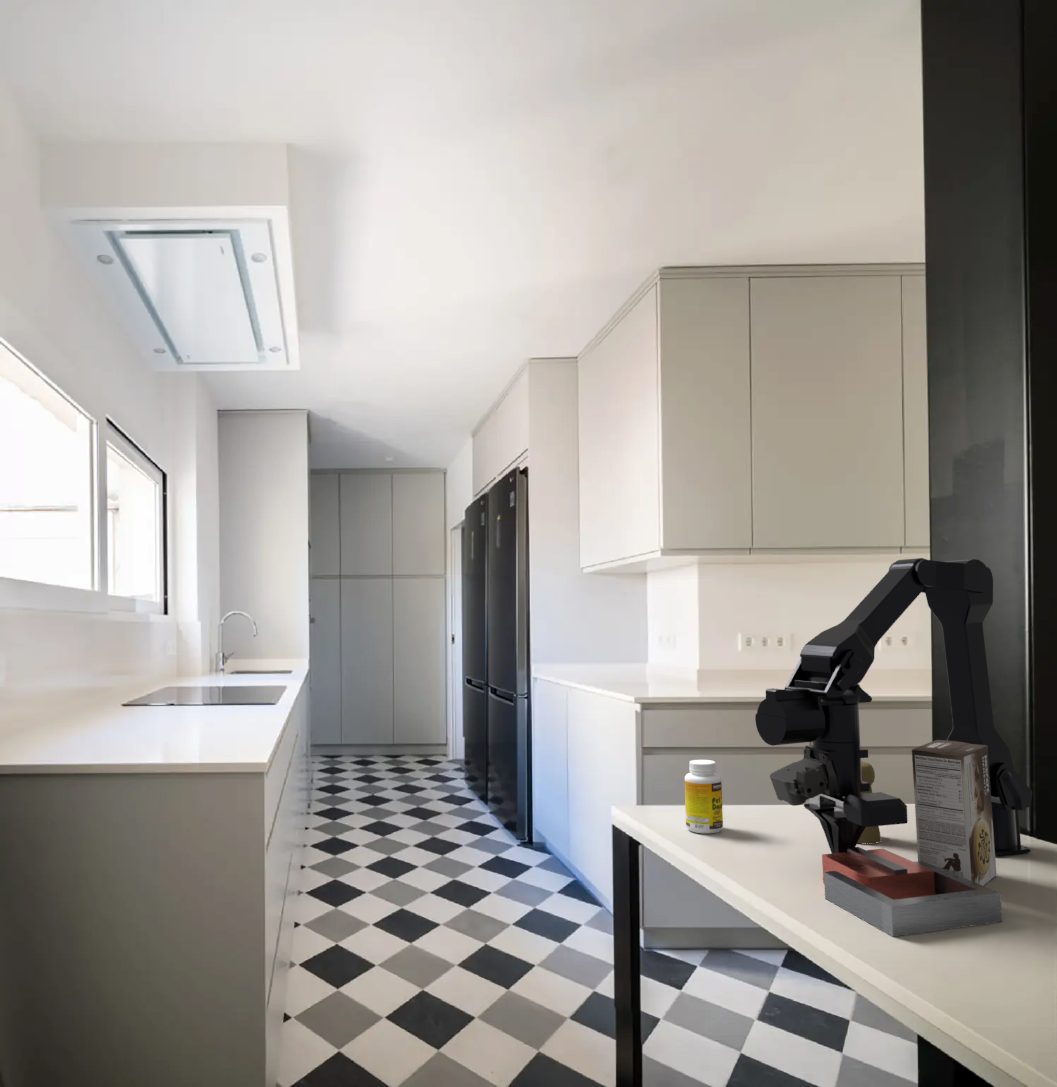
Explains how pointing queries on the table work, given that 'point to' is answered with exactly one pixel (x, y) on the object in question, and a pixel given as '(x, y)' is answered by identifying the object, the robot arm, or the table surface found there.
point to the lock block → (882, 872)
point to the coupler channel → (917, 904)
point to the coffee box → (954, 808)
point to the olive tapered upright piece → (868, 776)
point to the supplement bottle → (703, 798)
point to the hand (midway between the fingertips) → (841, 865)
